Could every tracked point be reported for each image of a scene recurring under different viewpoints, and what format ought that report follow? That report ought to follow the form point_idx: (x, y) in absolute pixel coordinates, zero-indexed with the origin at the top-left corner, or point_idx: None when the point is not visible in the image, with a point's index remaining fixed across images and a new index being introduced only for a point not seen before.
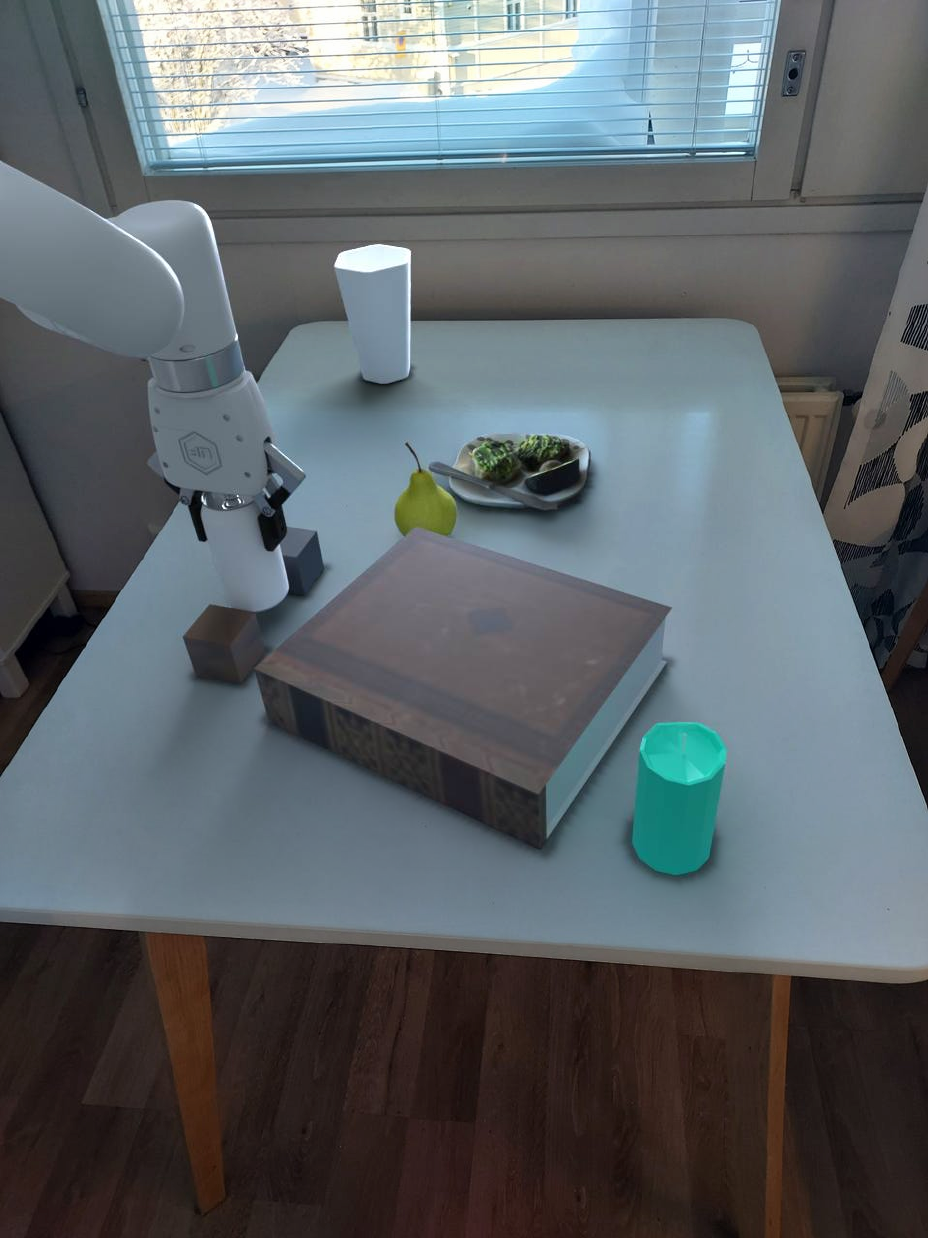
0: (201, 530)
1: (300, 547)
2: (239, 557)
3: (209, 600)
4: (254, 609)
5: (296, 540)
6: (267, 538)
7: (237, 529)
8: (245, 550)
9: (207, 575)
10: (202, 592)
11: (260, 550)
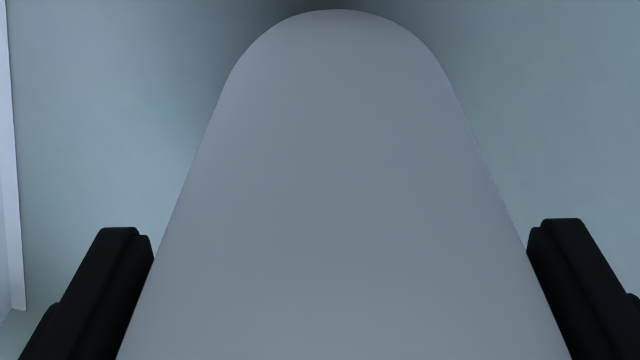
0: (567, 273)
1: None
2: (253, 144)
3: (552, 108)
4: (281, 24)
5: None
6: (74, 287)
7: (185, 296)
8: (211, 188)
9: (602, 202)
10: (590, 135)
11: (169, 221)
